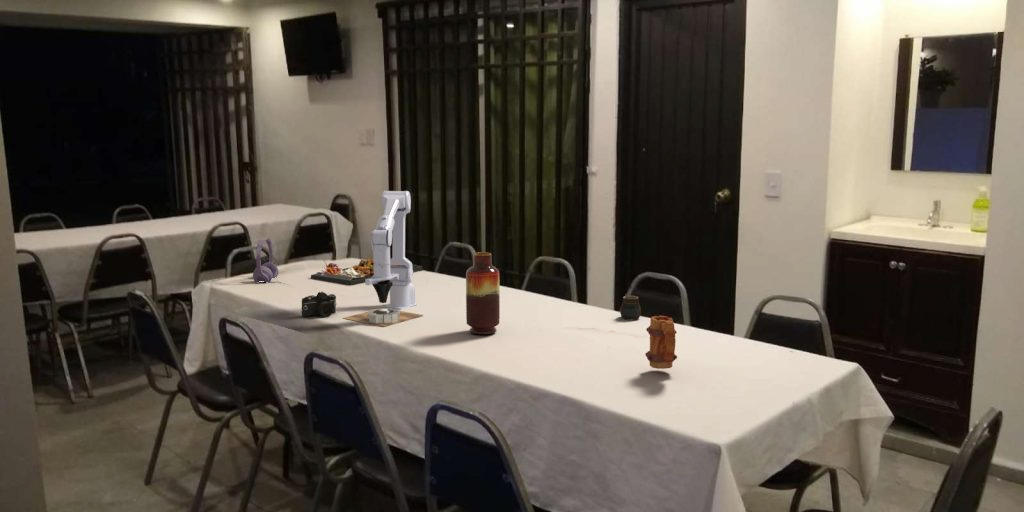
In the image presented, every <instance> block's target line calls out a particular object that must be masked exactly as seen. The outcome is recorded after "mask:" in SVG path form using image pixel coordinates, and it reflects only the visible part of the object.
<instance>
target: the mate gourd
mask: <svg viewBox="0 0 1024 512" xmlns="http://www.w3.org/2000/svg"><path fill="white" fill-rule="evenodd" d="M624 295H625V296H623V297H622V303H621V306H620V310H619V311H620V312H619V314H620V315H621V316H620V317H621V318H622V319H623V318H624V320H627V319H636V320H639V319H640V318H641V313H642V310H641V305H640V301H639V296H636V295H628V294H627V293H624ZM638 318H639V319H638Z"/></svg>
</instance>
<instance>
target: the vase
mask: <svg viewBox="0 0 1024 512" xmlns="http://www.w3.org/2000/svg"><path fill="white" fill-rule="evenodd" d="M500 293H501V292H500V271H499V269H498V268H496V266H493V264H492V253H491V252H487V251H486V252H481V251H480V252H474V253H473V266H470V267H469V268H468V269H467V270H466V273H465V302H466V303H465V304H466V305H465V308H466V309H465V311H466V312H465V313H466V315H465V317H466V325H467V326H469V327H470V328H469V333H471V334H474V335H489V334H490V335H491V334H495V333H497V331H498V330H497V328H496V327H497V326H498V325H499V324H500V302H501V301H500V297H501V296H500Z"/></svg>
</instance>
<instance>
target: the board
mask: <svg viewBox="0 0 1024 512" xmlns="http://www.w3.org/2000/svg"><path fill="white" fill-rule="evenodd" d="M399 311H400V320H399V321H398V322H394V323H388V324H374V323H369V322H368V321H367V312H368V311H366V312H362V313H358V314H354V315H349V316H346V317H342V319H343V320H347V321H352V322H357V323H362V324H367V325H373V326H377V327H382V328H385V327H389V326H392V325H396V324H399V323H403V322H407V321H410V320H411V321H412V320H414V319H416V318H421V317H424V314H419V313H415V312H413V313H412V312H408V311H402V310H399Z"/></svg>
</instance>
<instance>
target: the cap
mask: <svg viewBox="0 0 1024 512" xmlns="http://www.w3.org/2000/svg"><path fill="white" fill-rule="evenodd" d="M376 309H377V310H376V314H389V313H390V309H380V308H376Z"/></svg>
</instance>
